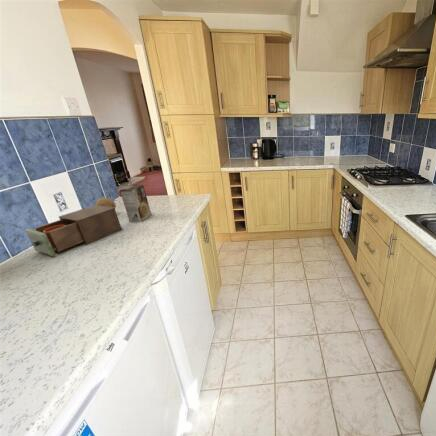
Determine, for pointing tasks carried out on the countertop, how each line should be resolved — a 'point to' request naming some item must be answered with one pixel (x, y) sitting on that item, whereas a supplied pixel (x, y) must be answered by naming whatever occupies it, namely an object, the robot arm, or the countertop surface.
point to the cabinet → (95, 222)
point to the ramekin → (51, 230)
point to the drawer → (55, 237)
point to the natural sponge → (106, 202)
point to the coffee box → (135, 202)
